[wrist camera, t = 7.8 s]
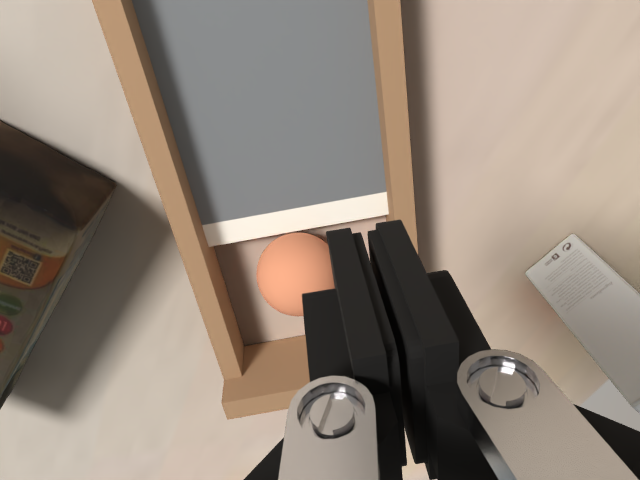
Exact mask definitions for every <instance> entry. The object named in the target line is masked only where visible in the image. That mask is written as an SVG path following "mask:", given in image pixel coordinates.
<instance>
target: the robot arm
mask: <svg viewBox="0 0 640 480" xmlns="http://www.w3.org/2000/svg"><path fill="white" fill-rule="evenodd" d="M326 233H327V240H328V247H329V254H330V260H331V267H332V273H333V280H334V286H335V288H334V289H328V290H322V291H316V292H309V293H303V294H302V304H303V315H304V325H305V336H306V347H307V358H308V368H309V379H310V382H309V383H308V384H306V385H305V386H304V387H302V388H301V389H300V390H298V392H297V393H296V394H295V396H294V397H293V399H292V400H291V403H290V406H289V409H288V413H287V420H286V427H285V435H284V438H283V439H282V440H281V441H280V442H279V443H278V444H277V445H276V446H275V447H274V448H273V449H272V450H271V452H270V453H269V454H268V455H267V456H266V457H265V458H264V459H263V460H262V461H261V462H260V463H259V464H258V465H257V466H256V467H255V468H254V469H253V470H252V472H251V473H250V474H249V475H248V476H247V477H246V478H245V479H244V480H403V478H402V466H406V465H407V458H406V445H405V432H404V428H405V431H406V435H407V438H408V442H409V445H410V449H411V453H412V456H413V459H414V462H415V464H419V463H425V465H426V469H427V472H428V475H429V479H430V480H433V479H438V480H640V432H639V431H637V430H634V429H632V428H630V427H627V426H625V425H622V424H620V423H618V422H615V421H613V420H610V419H608V418H606V417H603V416H601V415H599V414H596V413H594V412H591V411H589V410H587V409H584V408H582V407H579V406H577V405H575V404H572V403H571V401H570V400H569V399H568V398H567V397H566V396H565V395H564V393H563V392H562V391H561V390H560V389H559V388H558V386H557V385H556V384H555V383H554V382H553V381H552V380H551V378H550V377H549V376H548V375H547V374H546V373H545V372H544V370H543V369H542V368H541V367H539V366H538V365H537V364H536V363H535V362H534V361H533V360H531V359H529V358H527V357H525V356H523V355H521V354H519V353H515V352H511V351H508V350H496V349H491V348H490V346H489V345H488V343H487V341H486V339H485V337H484V335H483V334H482V332H481V330H480V328H479V326H478V324H477V323H476V321H475V319H474V317H473V315H472V313H471V312H470V310H469V308H468V306H467V304H466V302H465V300H464V299H463V297H462V295H461V293H460V291H459V289H458V288H457V286H456V284H455V282H454V280H453V278H452V277H451V275H450V274H449V272H448V271H446V270H443V271H437V272H431V273H426V271H425V269H424V267H423V265H422V263H421V260H420V258H419V256H418V254H417V252H416V250H415V248H414V246H413V244H412V241H411V239H410V237H409V235H408V233H407V231H406V229H405V227H404V225H403V223H402V221H401V220H394V221H388V222H382V223H376V230H372V231H368V243H369V253H370V260H369V257H368V254H367V251H366V247H365V244H364V241H363V238H362V235H361V233H354V234H352V232H351V229H350V228H345V229H339V230H333V231H327V232H326ZM370 262H371V263H370Z"/></svg>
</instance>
